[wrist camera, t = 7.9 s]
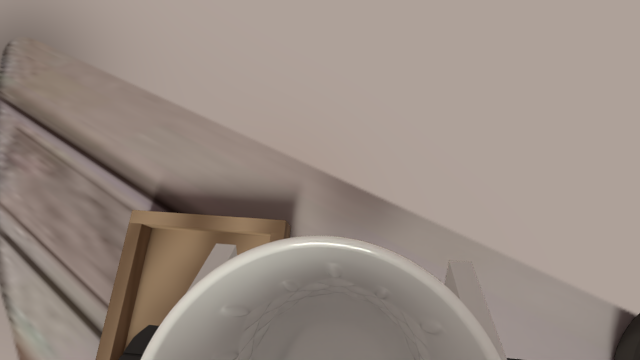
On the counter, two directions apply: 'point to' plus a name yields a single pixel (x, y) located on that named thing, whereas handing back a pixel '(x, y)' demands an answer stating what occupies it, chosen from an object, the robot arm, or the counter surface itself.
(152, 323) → the walnut coaster tray
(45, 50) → the counter surface
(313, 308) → the white cup
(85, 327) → the counter surface
